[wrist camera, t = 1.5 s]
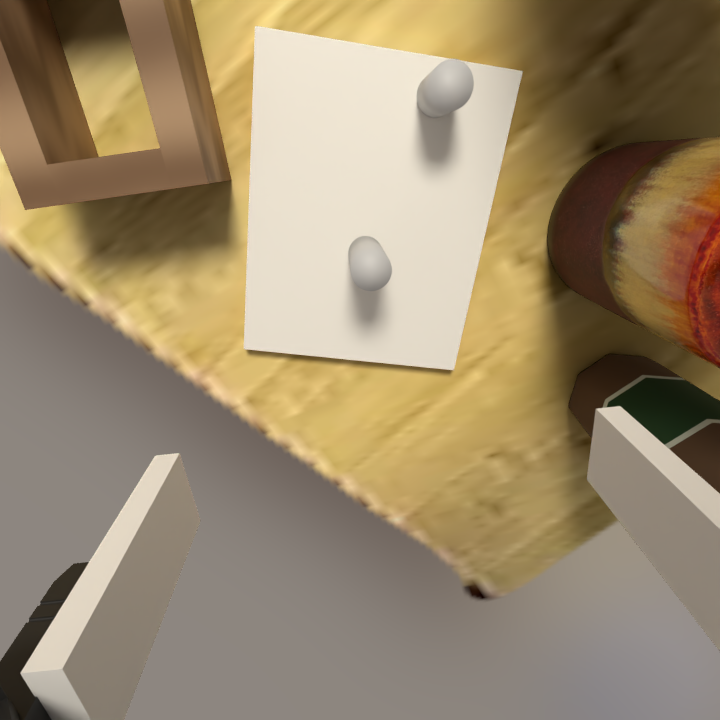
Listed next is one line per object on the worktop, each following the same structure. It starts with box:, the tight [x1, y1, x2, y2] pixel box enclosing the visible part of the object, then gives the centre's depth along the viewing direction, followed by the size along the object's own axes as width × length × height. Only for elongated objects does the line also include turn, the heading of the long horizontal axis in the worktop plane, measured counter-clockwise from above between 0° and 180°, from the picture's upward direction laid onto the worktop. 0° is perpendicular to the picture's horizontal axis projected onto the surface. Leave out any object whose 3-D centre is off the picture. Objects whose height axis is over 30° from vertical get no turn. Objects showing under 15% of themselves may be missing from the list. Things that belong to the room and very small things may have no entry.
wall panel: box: [244, 26, 523, 370], centre depth 29 cm, size 20×16×6 cm
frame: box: [0, 0, 231, 210], centre depth 25 cm, size 14×10×6 cm
